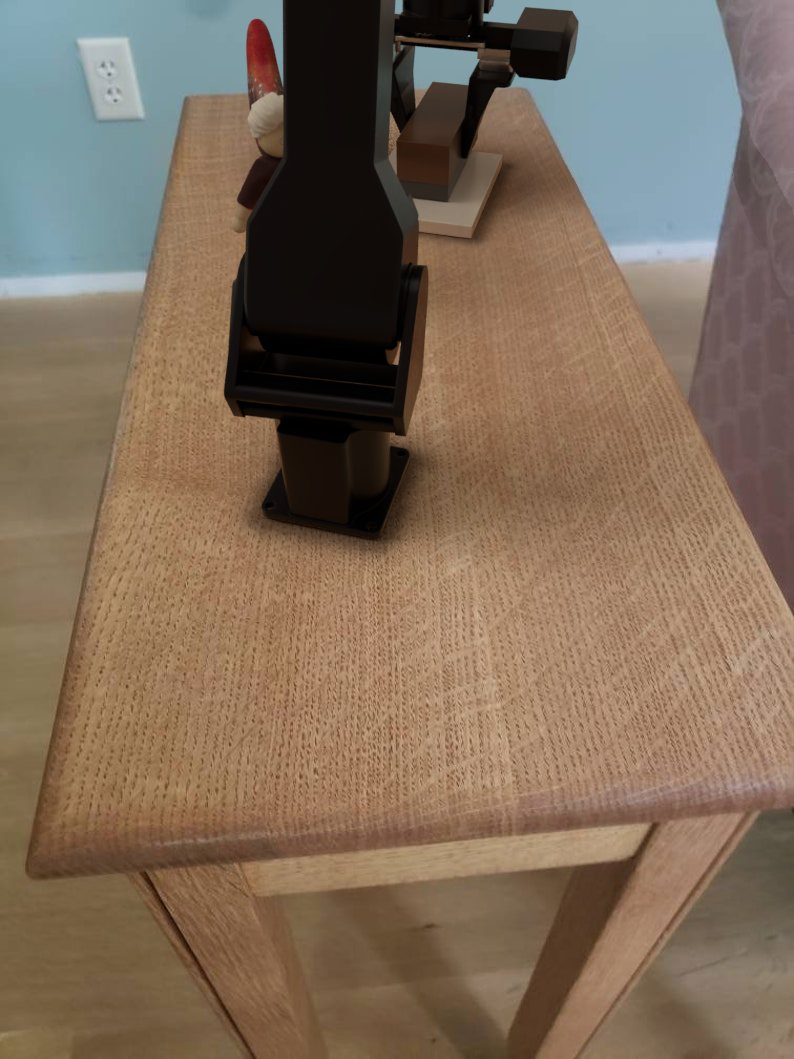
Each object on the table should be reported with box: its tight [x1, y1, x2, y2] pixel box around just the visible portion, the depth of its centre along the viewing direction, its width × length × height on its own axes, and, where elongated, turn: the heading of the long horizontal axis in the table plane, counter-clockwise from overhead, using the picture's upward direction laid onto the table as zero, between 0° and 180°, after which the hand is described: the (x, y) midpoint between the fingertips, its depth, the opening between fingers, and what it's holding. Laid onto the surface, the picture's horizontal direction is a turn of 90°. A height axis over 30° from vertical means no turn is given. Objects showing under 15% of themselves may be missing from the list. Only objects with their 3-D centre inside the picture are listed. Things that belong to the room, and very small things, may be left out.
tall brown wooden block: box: [395, 81, 479, 201], centre depth 67 cm, size 11×4×4 cm, turn 164°
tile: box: [388, 145, 504, 239], centre depth 67 cm, size 12×9×1 cm
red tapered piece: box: [245, 18, 283, 156], centre depth 65 cm, size 3×18×10 cm, turn 10°
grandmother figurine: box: [231, 92, 283, 234], centre depth 55 cm, size 8×4×13 cm, turn 143°
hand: (439, 153), depth 68 cm, fingers closed on tall brown wooden block, 4 cm apart
